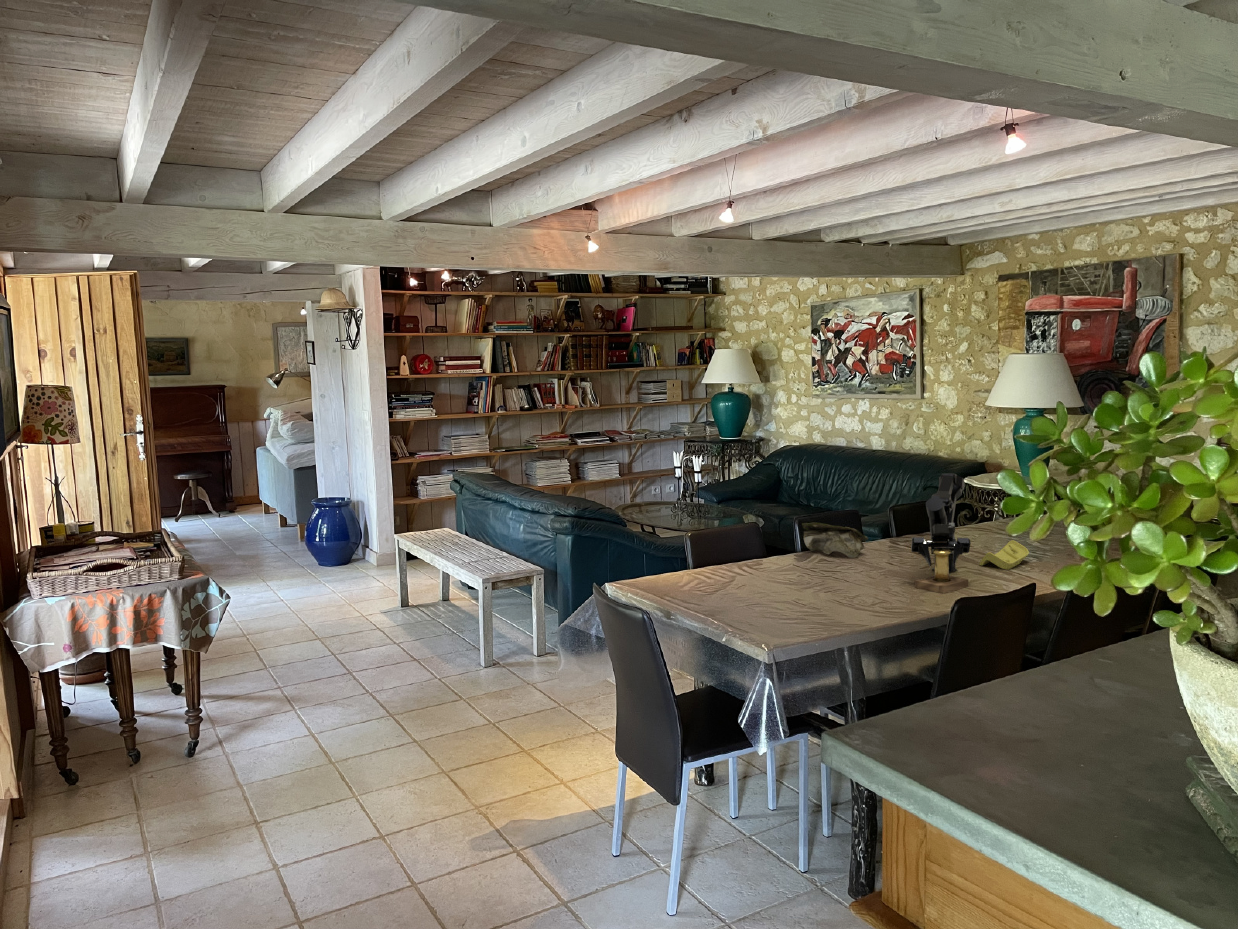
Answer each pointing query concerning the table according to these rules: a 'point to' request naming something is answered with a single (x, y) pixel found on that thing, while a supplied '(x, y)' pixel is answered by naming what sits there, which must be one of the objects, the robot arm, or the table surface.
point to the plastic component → (1007, 556)
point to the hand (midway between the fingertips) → (942, 566)
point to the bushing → (941, 565)
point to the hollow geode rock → (833, 539)
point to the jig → (941, 584)
